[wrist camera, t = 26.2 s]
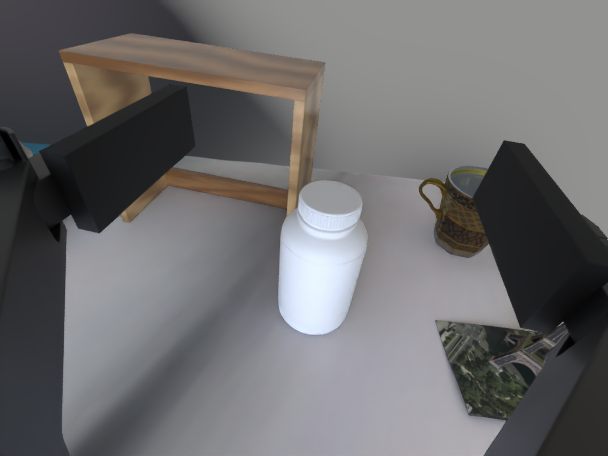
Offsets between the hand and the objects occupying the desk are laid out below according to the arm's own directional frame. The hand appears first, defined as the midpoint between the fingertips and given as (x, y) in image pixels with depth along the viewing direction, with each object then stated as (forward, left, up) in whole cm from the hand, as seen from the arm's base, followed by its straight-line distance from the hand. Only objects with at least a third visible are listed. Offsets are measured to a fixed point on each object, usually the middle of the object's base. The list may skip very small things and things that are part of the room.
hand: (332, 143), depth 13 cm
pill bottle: (-1, +9, -24) cm, 25 cm away
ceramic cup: (+13, +28, -24) cm, 39 cm away
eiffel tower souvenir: (+21, +10, -24) cm, 33 cm away
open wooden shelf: (-19, +18, -24) cm, 35 cm away
